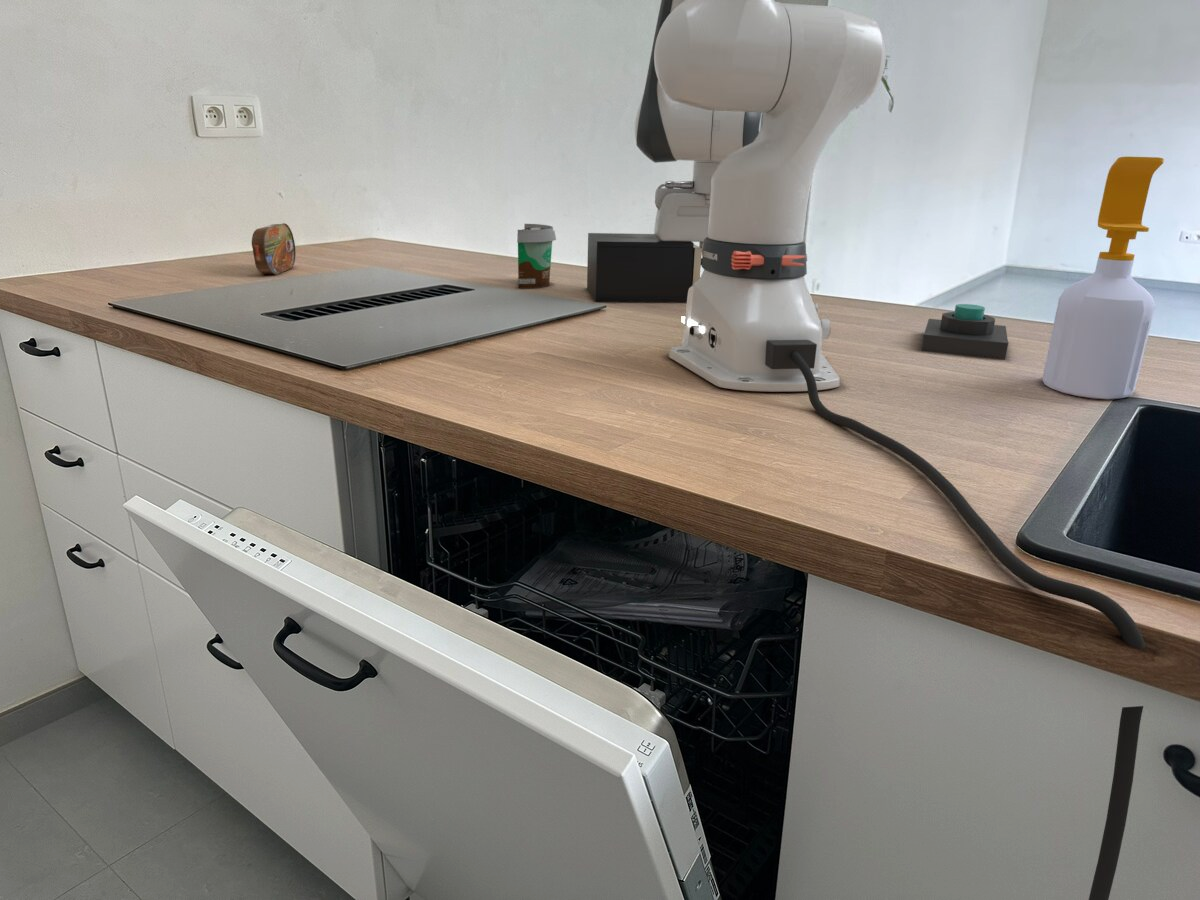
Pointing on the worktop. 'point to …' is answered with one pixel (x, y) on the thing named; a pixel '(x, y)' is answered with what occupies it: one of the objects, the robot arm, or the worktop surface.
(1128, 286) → the soap bottle
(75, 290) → the worktop surface
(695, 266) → the drawer
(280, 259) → the tin
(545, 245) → the coffee cup
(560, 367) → the worktop surface
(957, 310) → the button
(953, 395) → the worktop surface
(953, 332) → the control block
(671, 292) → the cabinet
